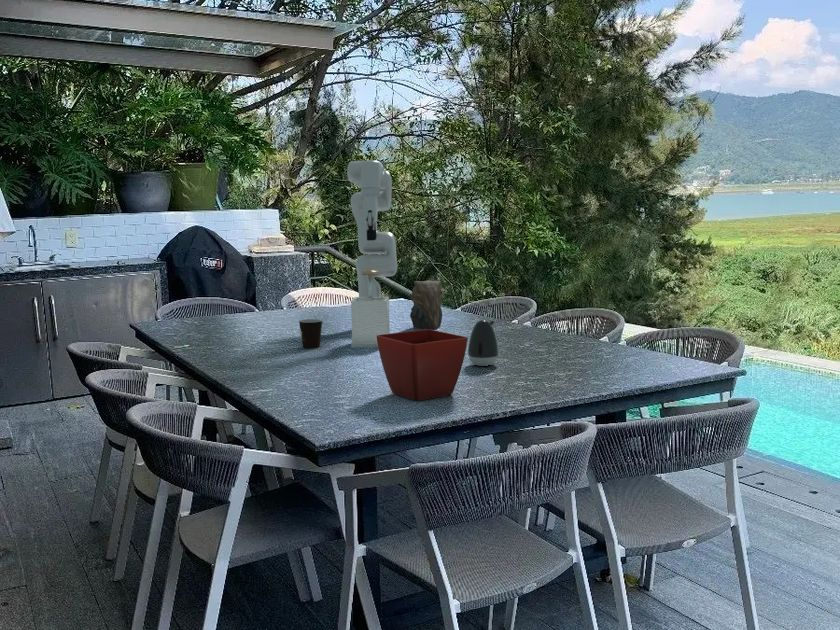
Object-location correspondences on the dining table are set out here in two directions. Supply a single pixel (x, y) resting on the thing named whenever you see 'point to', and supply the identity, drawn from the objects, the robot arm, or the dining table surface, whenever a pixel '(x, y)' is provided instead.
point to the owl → (426, 304)
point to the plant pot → (422, 362)
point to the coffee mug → (311, 333)
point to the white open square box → (369, 321)
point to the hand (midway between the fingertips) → (371, 239)
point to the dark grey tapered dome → (483, 344)
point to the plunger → (369, 280)
